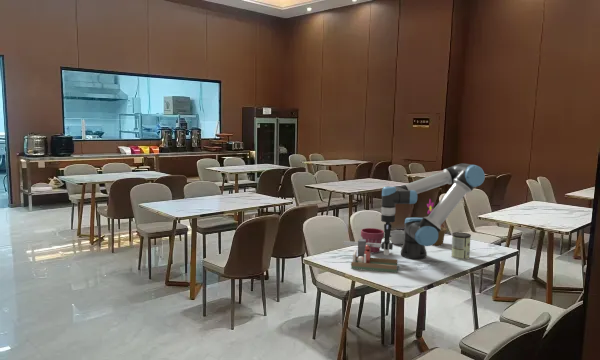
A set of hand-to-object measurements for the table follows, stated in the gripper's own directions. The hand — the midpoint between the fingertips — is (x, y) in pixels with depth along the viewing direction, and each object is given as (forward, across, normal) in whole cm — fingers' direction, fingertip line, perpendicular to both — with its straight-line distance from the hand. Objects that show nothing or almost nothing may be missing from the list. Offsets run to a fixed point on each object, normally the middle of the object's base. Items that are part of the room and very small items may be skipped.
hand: (386, 251), depth 251 cm
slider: (+5, +5, -11) cm, 13 cm away
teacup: (+7, -48, +5) cm, 49 cm away
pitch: (+7, +6, -6) cm, 11 cm away
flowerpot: (+7, -53, +29) cm, 61 cm away
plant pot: (+7, -24, -10) cm, 27 cm away
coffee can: (+7, -24, +42) cm, 49 cm away
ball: (+3, +9, -14) cm, 17 cm away
